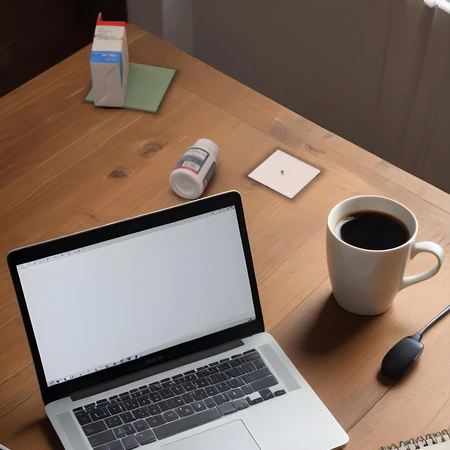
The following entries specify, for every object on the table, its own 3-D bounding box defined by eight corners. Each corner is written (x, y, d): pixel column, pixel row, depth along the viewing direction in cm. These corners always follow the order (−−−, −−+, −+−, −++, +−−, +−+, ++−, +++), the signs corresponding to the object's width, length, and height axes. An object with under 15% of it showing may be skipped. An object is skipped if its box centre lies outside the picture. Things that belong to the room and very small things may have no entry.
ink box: (120, 62, 128) (128, 10, 138) (88, 61, 128) (98, 9, 137) (124, 108, 135) (131, 55, 144) (93, 107, 135) (103, 55, 144)
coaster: (321, 171, 127) (321, 167, 126) (291, 198, 123) (291, 194, 122) (278, 149, 130) (278, 145, 129) (247, 175, 126) (247, 171, 125)
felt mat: (85, 101, 137) (85, 99, 136) (109, 60, 144) (108, 58, 144) (155, 113, 135) (155, 111, 135) (176, 71, 142) (175, 69, 142)
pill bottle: (182, 204, 123) (204, 168, 129) (208, 195, 120) (230, 158, 125) (161, 176, 121) (184, 140, 126) (187, 166, 117) (210, 130, 123)
